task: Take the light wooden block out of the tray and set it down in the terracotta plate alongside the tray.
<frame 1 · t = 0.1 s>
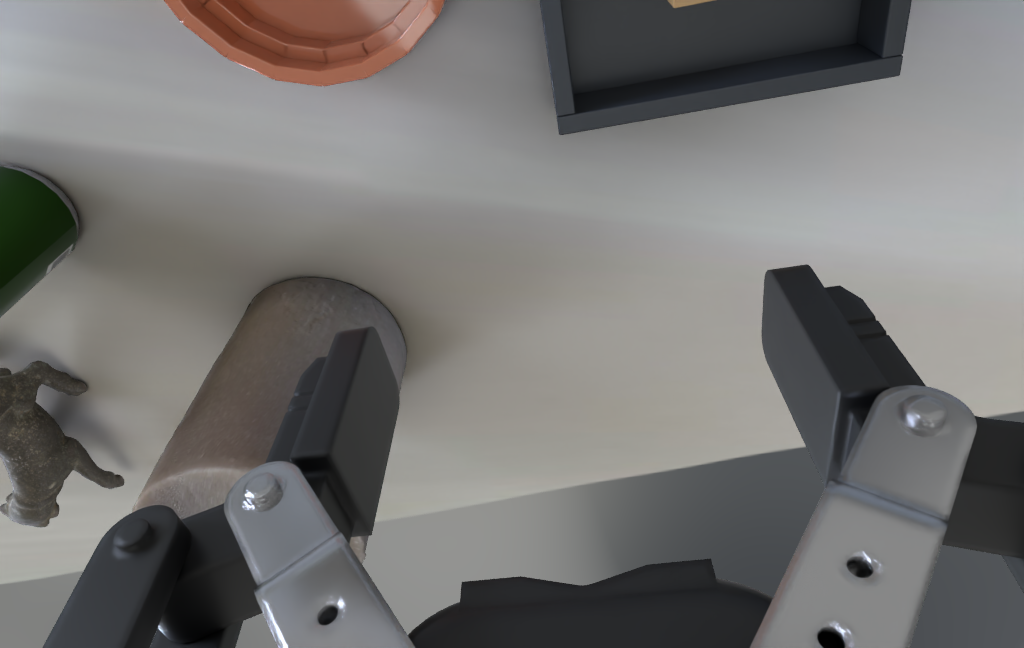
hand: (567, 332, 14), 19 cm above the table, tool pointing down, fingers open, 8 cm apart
beer can: (32, 208, 33), on the table
pillar candle: (328, 341, 39), on the table
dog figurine: (59, 405, 42), on the table
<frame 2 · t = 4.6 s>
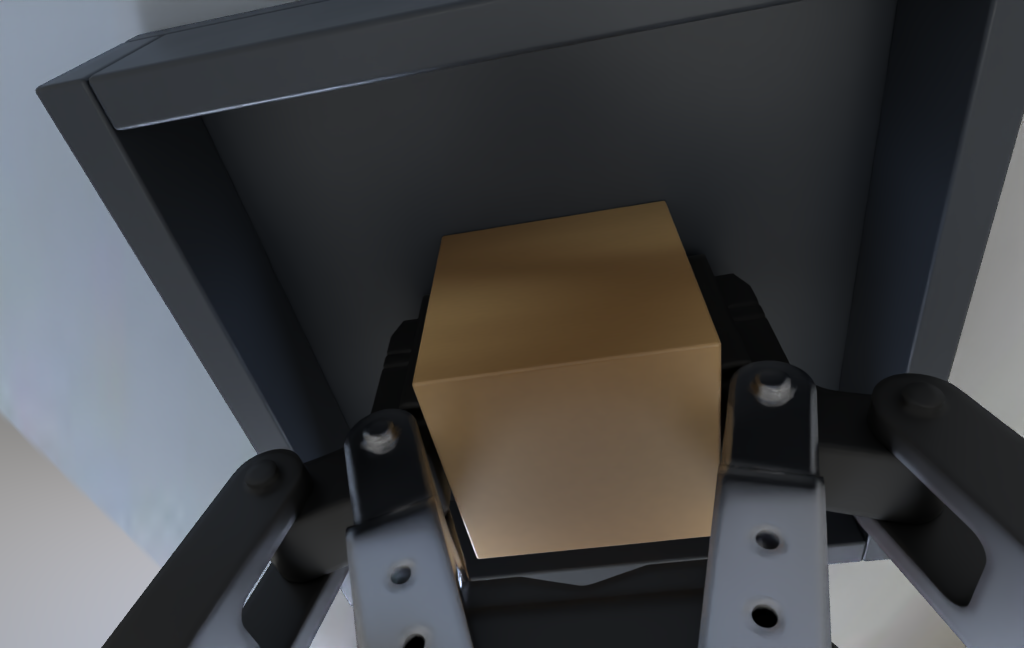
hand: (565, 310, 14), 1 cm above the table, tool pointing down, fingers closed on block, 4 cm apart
tray: (567, 292, 15), on the table
block: (566, 308, 14), point 1 cm above the table, touching gripper, tray
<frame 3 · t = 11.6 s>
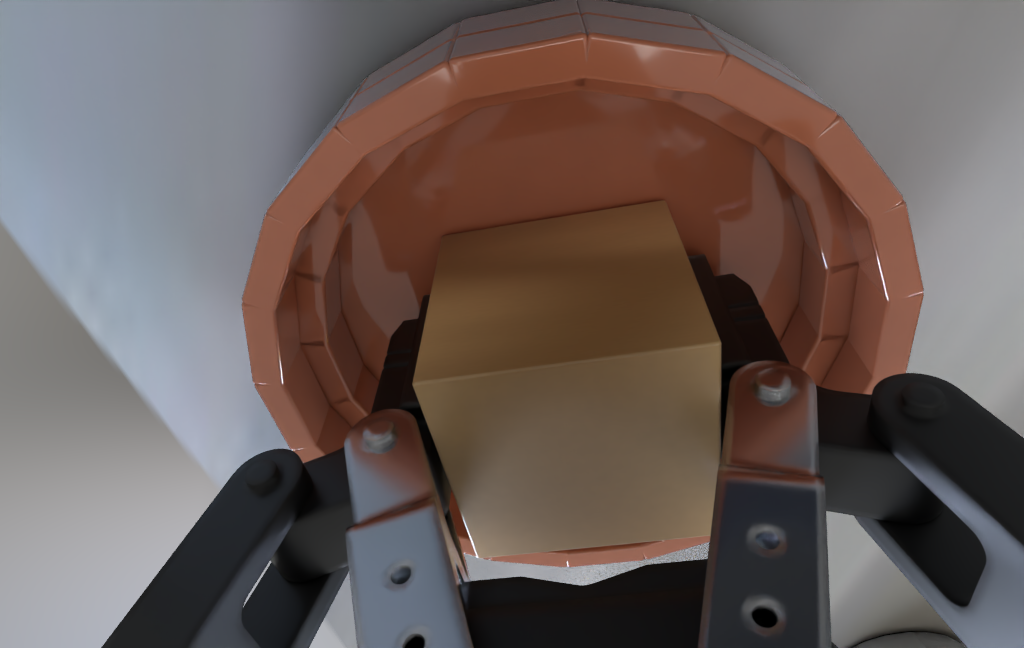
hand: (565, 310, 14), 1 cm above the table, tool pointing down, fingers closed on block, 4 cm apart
plate: (566, 292, 15), on the table
block: (566, 308, 14), point 1 cm above the table, touching gripper
when the fingers open (2 cm above the table, at t = 19.2 s): block drops 1 cm, resting on plate.
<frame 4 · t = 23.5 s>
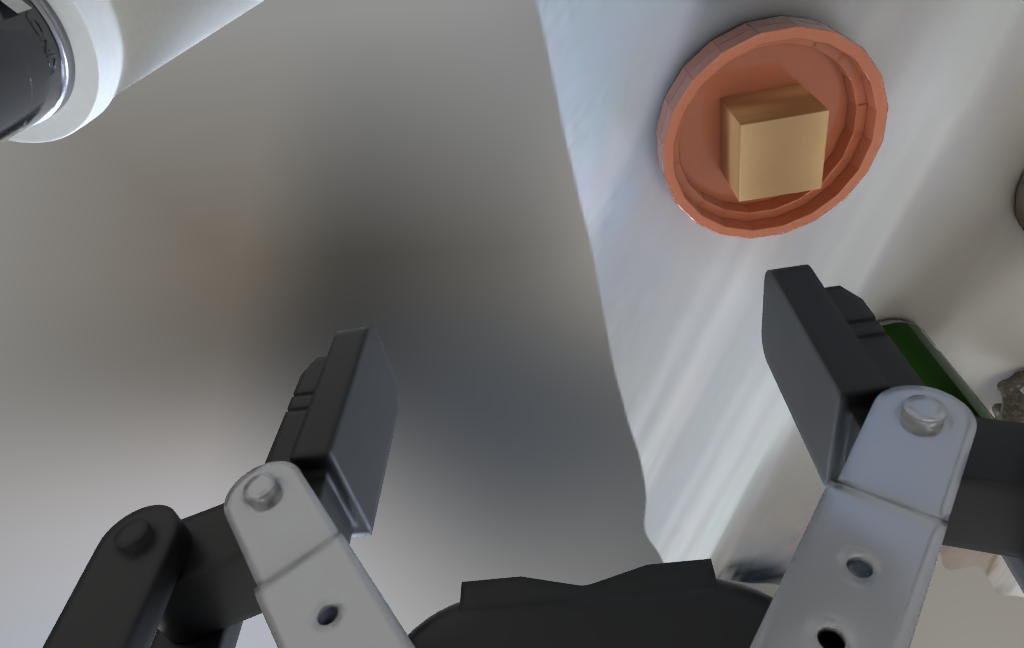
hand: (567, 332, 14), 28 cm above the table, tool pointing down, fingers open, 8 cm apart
beer can: (882, 342, 49), on the table
plate: (757, 124, 39), on the table
block: (758, 128, 39), resting on plate
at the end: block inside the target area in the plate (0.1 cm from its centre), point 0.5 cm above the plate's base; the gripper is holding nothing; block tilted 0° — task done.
